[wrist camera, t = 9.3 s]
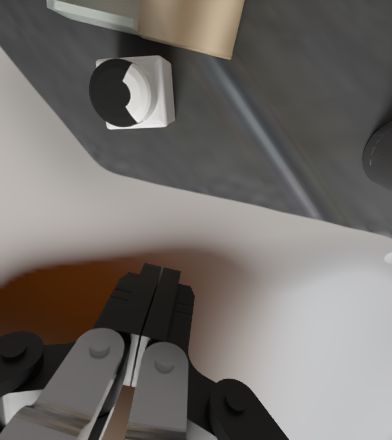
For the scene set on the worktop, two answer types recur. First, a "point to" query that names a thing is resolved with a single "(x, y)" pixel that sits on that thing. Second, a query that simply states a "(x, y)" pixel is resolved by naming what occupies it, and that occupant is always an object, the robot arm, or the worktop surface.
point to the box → (101, 12)
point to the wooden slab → (192, 24)
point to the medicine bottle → (133, 92)
